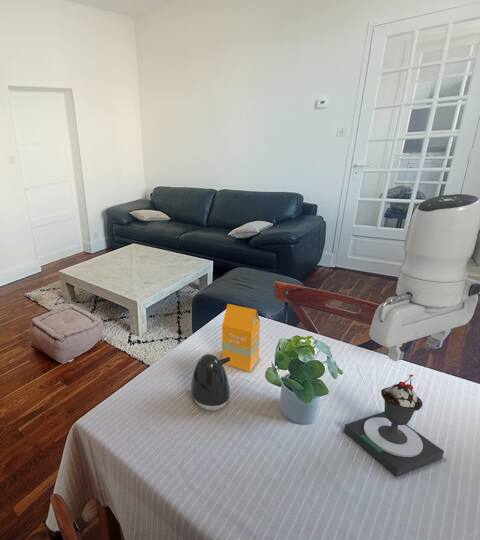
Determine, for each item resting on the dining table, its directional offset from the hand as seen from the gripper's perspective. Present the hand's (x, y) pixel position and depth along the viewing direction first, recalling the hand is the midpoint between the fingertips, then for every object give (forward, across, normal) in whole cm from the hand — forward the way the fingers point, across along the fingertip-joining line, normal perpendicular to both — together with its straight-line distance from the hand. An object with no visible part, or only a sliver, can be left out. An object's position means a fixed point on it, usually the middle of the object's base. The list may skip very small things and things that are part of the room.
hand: (414, 352), depth 65 cm
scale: (+25, -1, 0) cm, 25 cm away
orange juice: (+24, -13, +38) cm, 47 cm away
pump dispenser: (+24, -30, +26) cm, 47 cm away
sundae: (+21, -1, 0) cm, 21 cm away
